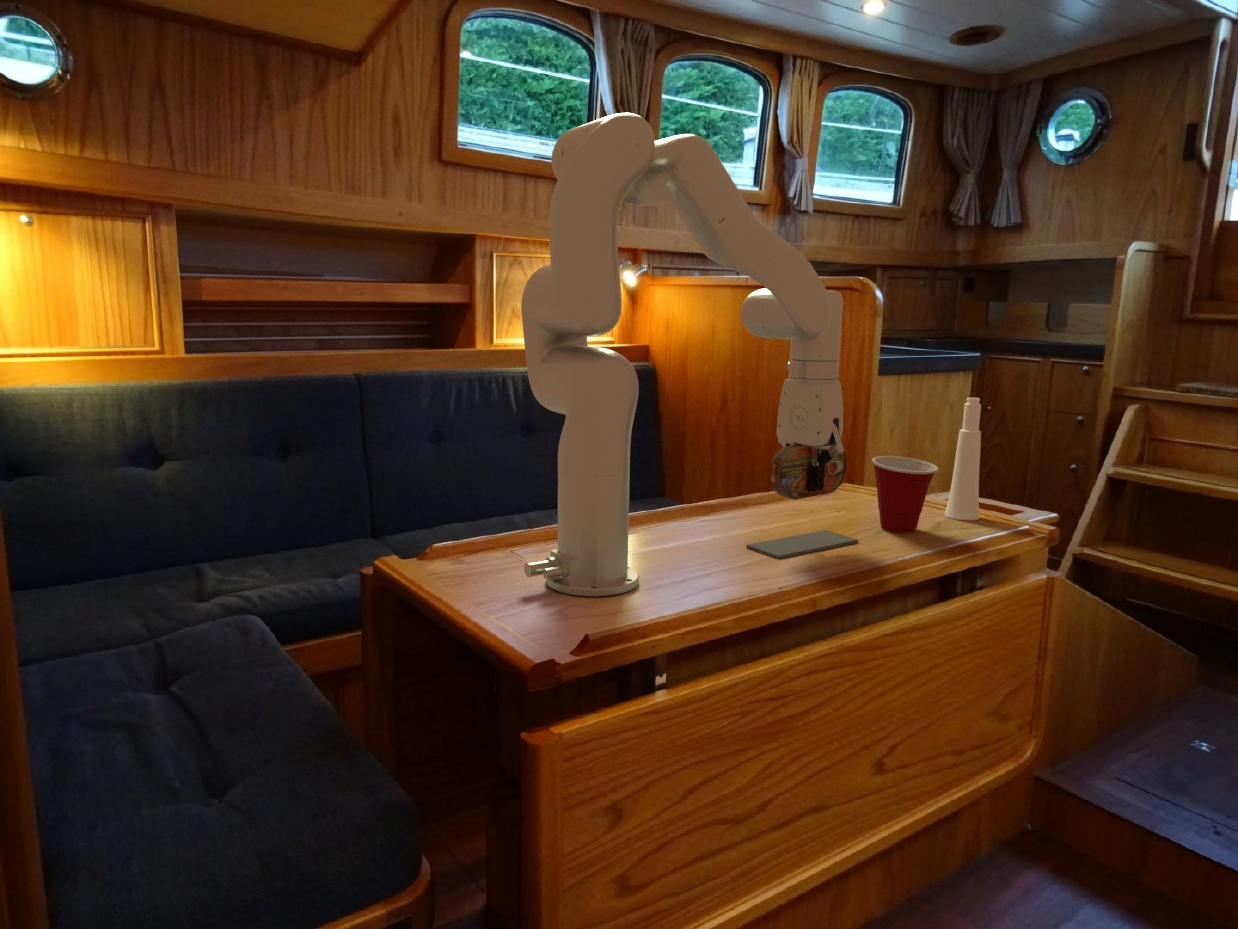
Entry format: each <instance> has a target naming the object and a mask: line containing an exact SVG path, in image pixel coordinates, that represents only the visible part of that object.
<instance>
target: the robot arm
mask: <svg viewBox="0 0 1238 929" xmlns="http://www.w3.org/2000/svg"><path fill="white" fill-rule="evenodd" d="M550 159H551V167H552V172H553V174H554V176H555V178H556V180H557V181H556V184H555V185H554V186H555V187H554V189H553V192H552V195H551V198H550V199H551V200H550V202H549V203H550V205H549V213H548V233H549V234H548V236H549V237H548V238H549V239H548V240H549V241H548V242H549V259H550V260H549V261H550V263H548V264H546V265H543V266H541V267H540V268H538V269H536V270H535V271H534V272H533V273H532V274H531V276H529V278H528V280H527V281H526V283H525V286H524V288H523V293H522V296H521V297H522V298H521V303H520V304H521V305H520V306H521V307H520V310H521V311H520V312H521V313H520V314H521V323H522V324H521V325H522V333H523V342H524V350H525V351H524V352H525V361H526V368H527V376H528V382H529V386H530V389H531V391H532V394H533V396H534V398H535V400H536V401H538V403H539V404H540V405H541V406H543V407H544V408H545V409H547V410H549V411H551V412H554V413H557V414H562V415H565V420H564V424H563V426H562V430H561V434H560V438H559V442H558V452H557V548H556V549H551V550H549V551H550V552H549V553H550V555H549V556H547V557H546V558H545V559H544V560H541V561H540V560H536V561H529V562H525V564H524V566H523V567H524V569H523V570H524V574H525V575H526V577H527V578H531V577H532V578H533V577H537V576H538V577H539V576H543V577H542V578H544V579H545V583H546V584H547V586H548V587H549V588H551V589H553V590H555V591H557V592H559V593H563V594H567V595H570V596H579V597H608V596H614V595H619V594H623V593H627V592H629V591H632V590H634V588H636V587H637V586H638V585H639V580H640V575H639V573H638V571H637V570H636V569H634V568H632V567H631V566H629V565H628V563H629V521H630V519H629V518H630V515H629V514H630V512H629V511H630V477H631V476H630V475H631V474H630V473H631V469H630V468H631V464H630V463H631V444H632V442H631V440H632V430H633V424H634V420H635V413H636V411H637V410H636V409H637V404H638V400H639V390H640V389H639V387H640V386H639V379H638V375H637V371H636V370H635V368H634V366H633V365H632V363H631V362H630V361H629V360H628V359H627V358H626V357H625V356H624V355H623V354H621V353H619V352H617V351H615V350H612V349H610V348H606V347H600V346H598V347H597V346H588V338H590V337H591V338H592V337H593V338H594V337H599V336H603V335H605V334H608V333H610V332H611V331H612V330H613V329H614V328H615V327H616V326H618V325H617V324H618V323H619V321H620V319H621V315H622V308H623V307H622V306H623V305H622V304H623V302H622V301H623V300H622V298H623V297H622V287H621V275H620V261H619V248H618V216H619V212H620V209H621V206H622V204H627V205H634V206H645V207H653V206H654V207H655V206H662V205H668V204H669V205H670V206H671V207H672V208H673V210H674V211H675V213H676V215H678V217H679V219H680V220H681V221H682V223H683V224H684V226H685V227H686V229H687V231H688V232H689V233H690V235H691V236H692V238H693V239H694V241H695V242H696V244H697V246H698V248H700V250H701V252H702V254H703V255H705V257H706V258H708V259H709V260H711V261H713V262H715V264H719V265H720V266H722V267H725V268H727V269H729V270H732V271H735V272H737V273H740V274H743V275H745V276H746V277H749V278H751V279H753V281H756V282H757V283H759V284H760V285H761V286H762V287H764V288H760V289H759V288H758V289H757V290H755V291H753V292H751V293H750V294H749V295H748V296H747V297H746V298H745V299H744V301H743V303H742V305H741V307H740V321H741V322H742V325H743V327H744V328H745V330H746V331H747V332H748V333H749V334H752V335H753V336H755V337H758V338H760V339H761V338H763V339H770V340H790V345H789V346H790V347H789V361H788V362H787V364H786V370H788V378H785V379H784V382H783V385H782V389H781V393H780V397H779V404H778V412H777V419H776V420H777V422H776V436H777V442H778V443H779V444H780V445H781V446H782V448H783V447H785V446H789V445H802V446H807V447H811V465H812V466H808V474H807V490H808V491H810V492H812V491H818V490H823V488H824V475H825V465H828V464H829V461H830V460H831V459H832V458H833V457H834V456H837V455H839V454H842V453H843V452H845V449H844V446H843V442H842V439H843V438H842V437H843V429H844V400H843V392H842V384H841V382H840V381H839V374H840V373H839V372H840V361H841V360H840V358H841V340H842V339H841V338H842V325H843V308H844V300H843V296H842V294H841V292H839V291H837V290H831V289H826V287H825V285H824V283H823V281H822V280H821V278H820V277H819V274H818V273H817V272H816V270H815V269H814V266H813V265H812V264H811V262H810V261H809V260H808V259H807V258H806V257H805V255H804V254H802V252H800V250H798V249H797V248H796V247H795V246H793V245H792V244H791V243H789V242H788V241H786V239H784V238H783V237H782V236H780V235H779V234H777V232H775V231H774V230H773V229H771V228H770V227H768V226H767V225H765V224H764V223H763V222H761V221H760V220H759V219H758V218H757V217H756V216H755V214H754V213H753V212H752V210H751V208H750V207H749V204H748V202H746V200H745V198H744V197H743V195H742V194H741V192H740V190H739V189H738V187H737V185H736V184H735V182H734V181H733V178H732V177H731V176H730V174H729V173H728V171H727V169H726V167H725V165H724V164H723V163H722V160H721V159H720V158H719V157H718V154H717V153H716V152H715V150H714V148H713V147H712V146H711V144H710V143H709V142H708V141H707V140H706V139H705V138H704V137H702V136H699V135H697V134H692V133H683V134H678V135H677V134H676V135H673V136H670V137H669V136H668V137H665V138H661V139H658V140H655V134H654V130H653V128H652V126H651V125H650V123H649V122H648V121H647V120H646V119H645V118H643V116H640V115H638V114H635V113H631V112H619V113H614V114H611V115H607V116H604V117H601V118H597V119H596V120H593V121H590V122H588V123H584V124H582V125H580V126H575V127H573V128H571V129H569V130H567V131H565V132H564V133H563V134H562V135H560V137H559V138H558V139H557V140H556V142H555V144H554V145H553V148H552V152H551V158H550ZM829 445H830V448H829ZM819 450H821V454H820V455H819Z"/></svg>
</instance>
